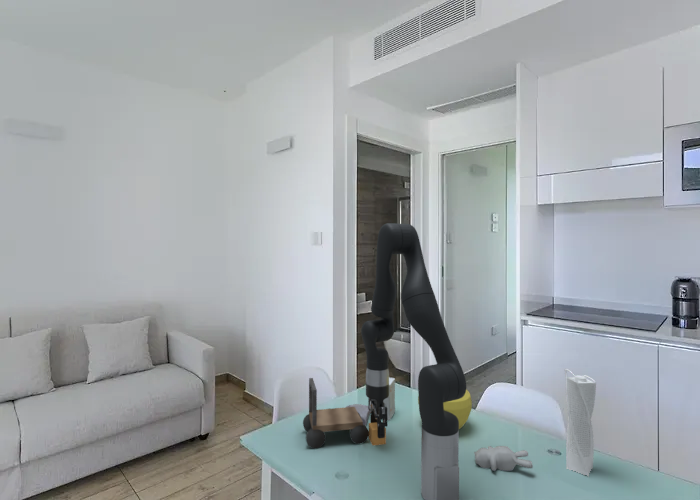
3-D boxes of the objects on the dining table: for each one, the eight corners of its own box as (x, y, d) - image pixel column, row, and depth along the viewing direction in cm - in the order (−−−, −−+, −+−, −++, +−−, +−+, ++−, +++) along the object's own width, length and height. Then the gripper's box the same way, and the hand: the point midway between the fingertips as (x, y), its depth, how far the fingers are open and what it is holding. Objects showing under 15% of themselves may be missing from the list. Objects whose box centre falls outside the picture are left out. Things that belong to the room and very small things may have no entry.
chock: (385, 444, 125) (385, 428, 125) (372, 445, 124) (372, 430, 124) (381, 436, 130) (381, 421, 130) (368, 438, 129) (368, 423, 129)
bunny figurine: (472, 441, 119) (525, 441, 116) (474, 458, 119) (527, 459, 116) (475, 458, 110) (532, 458, 106) (477, 476, 110) (535, 477, 106)
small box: (379, 409, 152) (379, 375, 151) (395, 411, 149) (395, 377, 149) (373, 418, 144) (373, 382, 144) (389, 420, 142) (390, 385, 142)
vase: (440, 410, 150) (441, 333, 150) (482, 428, 136) (483, 343, 136) (407, 424, 139) (407, 340, 139) (448, 444, 125) (449, 351, 124)
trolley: (360, 426, 138) (360, 374, 137) (368, 443, 126) (369, 386, 126) (302, 431, 133) (303, 378, 133) (306, 449, 122) (306, 391, 121)
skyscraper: (559, 469, 112) (561, 371, 111) (566, 458, 117) (567, 365, 117) (592, 480, 106) (593, 377, 106) (597, 468, 112) (598, 370, 112)
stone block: (340, 430, 138) (368, 426, 137) (338, 416, 139) (365, 413, 137) (346, 417, 150) (372, 413, 149) (344, 404, 150) (369, 401, 149)
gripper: (395, 388, 121) (395, 440, 121) (382, 373, 135) (382, 420, 135) (372, 390, 119) (371, 443, 119) (361, 375, 133) (360, 422, 133)
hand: (377, 431), depth 127 cm, fingers open, 8 cm apart
